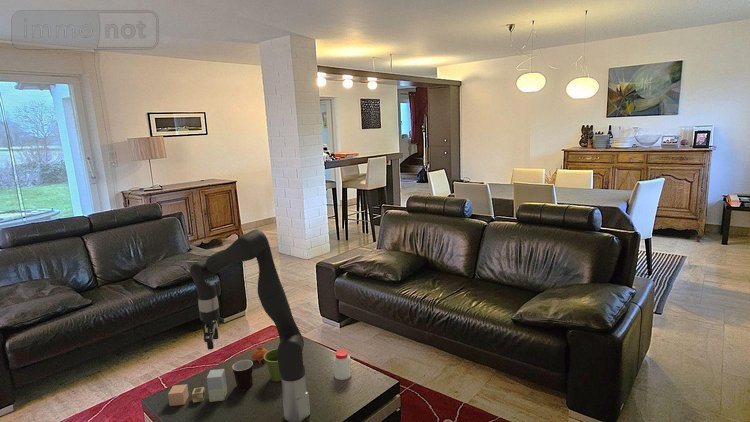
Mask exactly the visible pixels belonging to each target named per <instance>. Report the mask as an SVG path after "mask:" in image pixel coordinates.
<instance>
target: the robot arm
mask: <svg viewBox="0 0 750 422" xmlns="http://www.w3.org/2000/svg"><path fill="white" fill-rule="evenodd" d="M255 258H256V261H257V264H258V279H257V280H258V281H257V297H258V298H259V301H260V303H261V306H262V308H263V310H264V312H265V314H266V315H267V316H268V317H269V318H270V319H271V321H273V323H274V326H275V327H276V330H277V333H278V337H279V344H278V347H277V348H276V349H277V357H278V366H279V372H280V374H281V393H282V404H283V407H282V408H283V415H284V419H285V421H287V422H303V421H304V420H305V419H306V418H307V417H308V416H310V415H311V408H310V395H309V391H307V379H306V368H305V365H304V359H303V358H304V357H303V351H304V345H305V341H304V337H303V336H302V333H301V331H300V329H299V327H298V325H297V324H296V321H295V319H294V317H293V314H292V310H291V308H290V304H289V301H288V299H287V297H288V296H287V295H286V292H285V290H284V287H283V284H282V282H281V280H280V279H281V278H280V276H279V274H278V271H277V270H278V269H277V268H276V265H275V262H274V258H273V254H272V250H271V246H270V242H269V240H268V238H267V236H266V234H265V233H264V232H263V231H262V230H260V229H253V230H250V231H249V232H247V233H245V234H242V235H240V236H239V237H238V238H237V239H235V240H234V241H233V242H232V243H231V244H229V246H228V247H227V248H225V249H221V250H219V251H217V252H215V253H213V254H212V255H211V254H210V256H208V258H206V259H202V260H200V261H196V262H194V263H192V265H191V266H190V269H189V274H190V276H191V278H192V280H193V282H194V285H195V288H196V291H197V298H198V310H199V319H200V321H201V322H204V323H205V324H204V327H203V328H202V332H203V341H204V343H206V345H207V346H206V347H207V350H214V348H215V347H214V340H218V339H219V327H220V323H219V318H220V306H219V300H218V295H217V294H218V293H217V286H216V283H215V282H214V281H211V280H210V281H206V278H210V277H212V276H214V275H217V274H218V273H220V272H221V271H223V270H225V269H227V268H229V267H231V266H233V265H234V264H237V263H243V262H248V261H251V260H254V259H255Z"/></svg>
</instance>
